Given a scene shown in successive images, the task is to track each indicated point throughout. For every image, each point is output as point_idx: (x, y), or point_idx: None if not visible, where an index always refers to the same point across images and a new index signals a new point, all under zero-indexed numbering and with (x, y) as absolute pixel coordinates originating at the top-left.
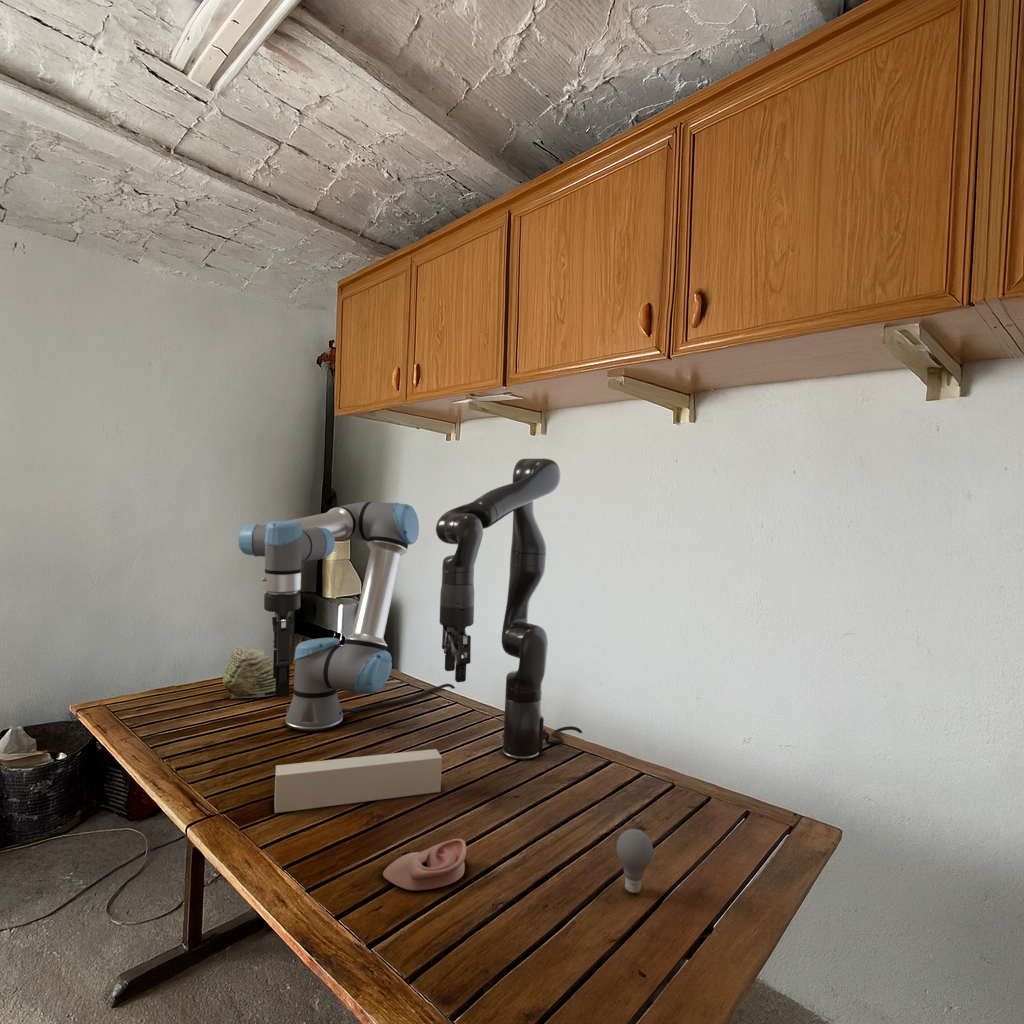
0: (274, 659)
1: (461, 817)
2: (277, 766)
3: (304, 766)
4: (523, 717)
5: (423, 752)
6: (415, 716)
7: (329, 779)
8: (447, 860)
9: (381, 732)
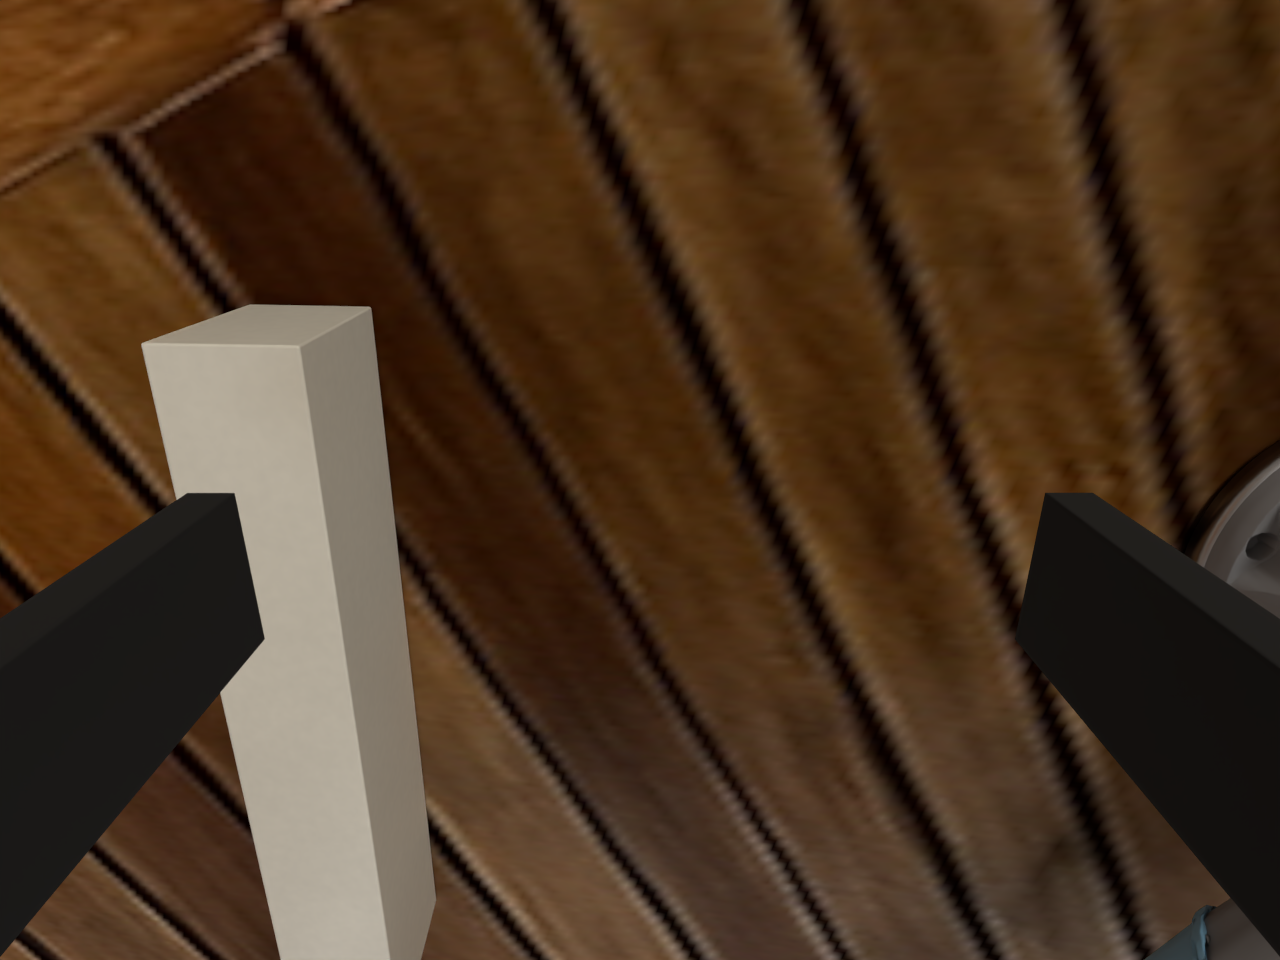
0: (1251, 667)
1: (147, 914)
2: (281, 354)
3: (260, 503)
4: None
5: None
6: (1142, 955)
7: None
8: None
9: (1021, 814)
